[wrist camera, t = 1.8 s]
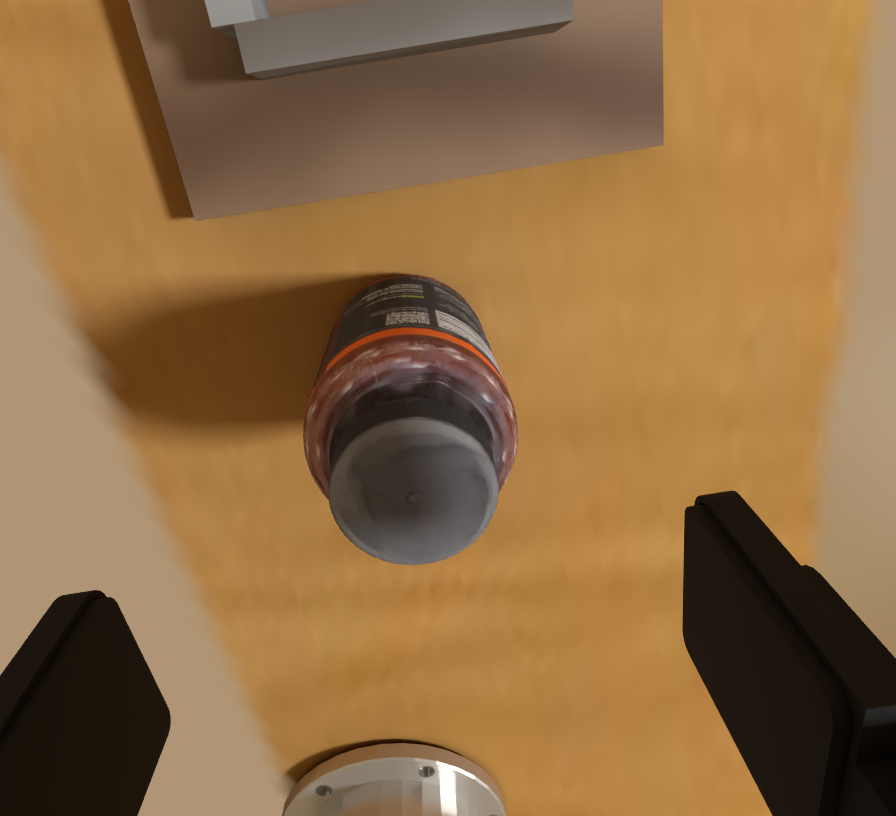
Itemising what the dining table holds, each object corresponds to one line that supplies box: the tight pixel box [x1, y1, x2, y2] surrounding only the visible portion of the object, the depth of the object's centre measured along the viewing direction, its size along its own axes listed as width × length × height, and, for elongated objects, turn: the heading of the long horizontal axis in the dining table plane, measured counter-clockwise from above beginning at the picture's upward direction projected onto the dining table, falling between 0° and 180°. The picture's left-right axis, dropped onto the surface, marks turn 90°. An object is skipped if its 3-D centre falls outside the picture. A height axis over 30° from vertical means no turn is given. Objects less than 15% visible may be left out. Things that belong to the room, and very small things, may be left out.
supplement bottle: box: [303, 274, 518, 565], centre depth 20 cm, size 6×6×11 cm
